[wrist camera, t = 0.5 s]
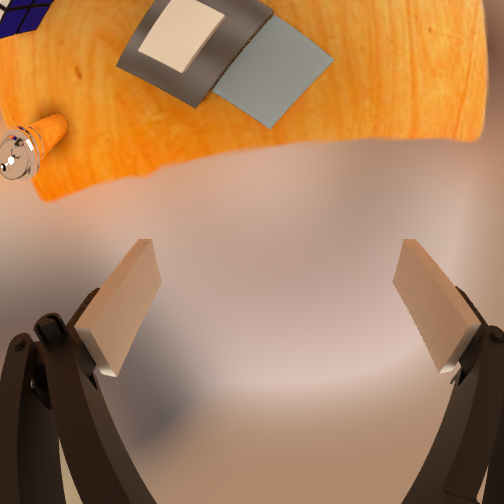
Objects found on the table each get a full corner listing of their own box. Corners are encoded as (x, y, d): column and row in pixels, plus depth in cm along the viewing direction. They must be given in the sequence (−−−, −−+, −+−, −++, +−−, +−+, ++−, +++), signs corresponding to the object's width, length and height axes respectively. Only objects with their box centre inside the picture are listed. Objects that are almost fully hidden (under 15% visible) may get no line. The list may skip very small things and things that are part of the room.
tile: (182, -6, 19) (177, -8, 17) (227, 16, 21) (224, 14, 19) (144, 49, 23) (137, 50, 22) (186, 70, 26) (181, 73, 24)
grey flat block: (191, -29, 18) (182, -35, 16) (272, 13, 23) (273, 10, 20) (129, 62, 27) (115, 66, 24) (202, 101, 32) (195, 108, 29)
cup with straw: (81, 110, 31) (-11, 179, 17) (71, 157, 37) (-2, 236, 22) (44, 96, 28) (-47, 157, 14) (37, 142, 34) (-38, 212, 20)
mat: (274, 14, 23) (274, 14, 23) (333, 59, 27) (334, 59, 26) (211, 90, 31) (211, 90, 30) (269, 128, 34) (269, 129, 34)
